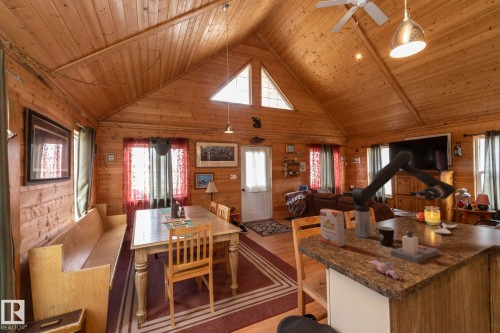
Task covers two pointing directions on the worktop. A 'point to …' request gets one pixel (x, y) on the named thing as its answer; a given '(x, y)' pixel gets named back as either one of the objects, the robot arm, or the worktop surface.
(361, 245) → the worktop surface
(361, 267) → the worktop surface
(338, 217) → the cracker box
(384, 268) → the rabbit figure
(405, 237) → the plug
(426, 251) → the socket
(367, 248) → the worktop surface
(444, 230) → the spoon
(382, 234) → the coffee mug
